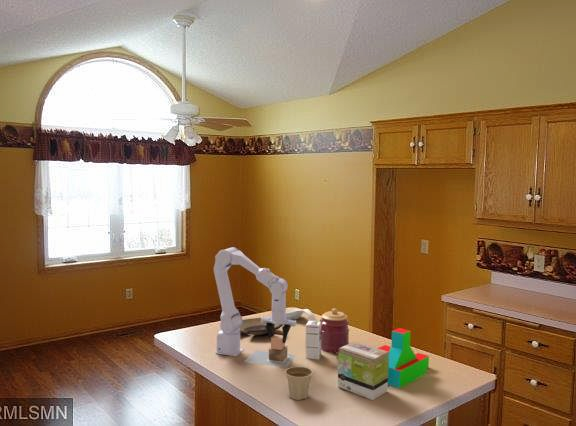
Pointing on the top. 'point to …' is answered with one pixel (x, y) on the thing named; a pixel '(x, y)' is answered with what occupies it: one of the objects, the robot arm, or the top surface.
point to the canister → (334, 331)
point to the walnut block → (278, 354)
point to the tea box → (363, 370)
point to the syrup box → (313, 339)
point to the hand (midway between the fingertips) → (278, 341)
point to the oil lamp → (255, 327)
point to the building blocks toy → (404, 360)
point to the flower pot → (298, 382)
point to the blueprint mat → (263, 358)
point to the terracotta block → (277, 342)
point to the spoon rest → (299, 314)
